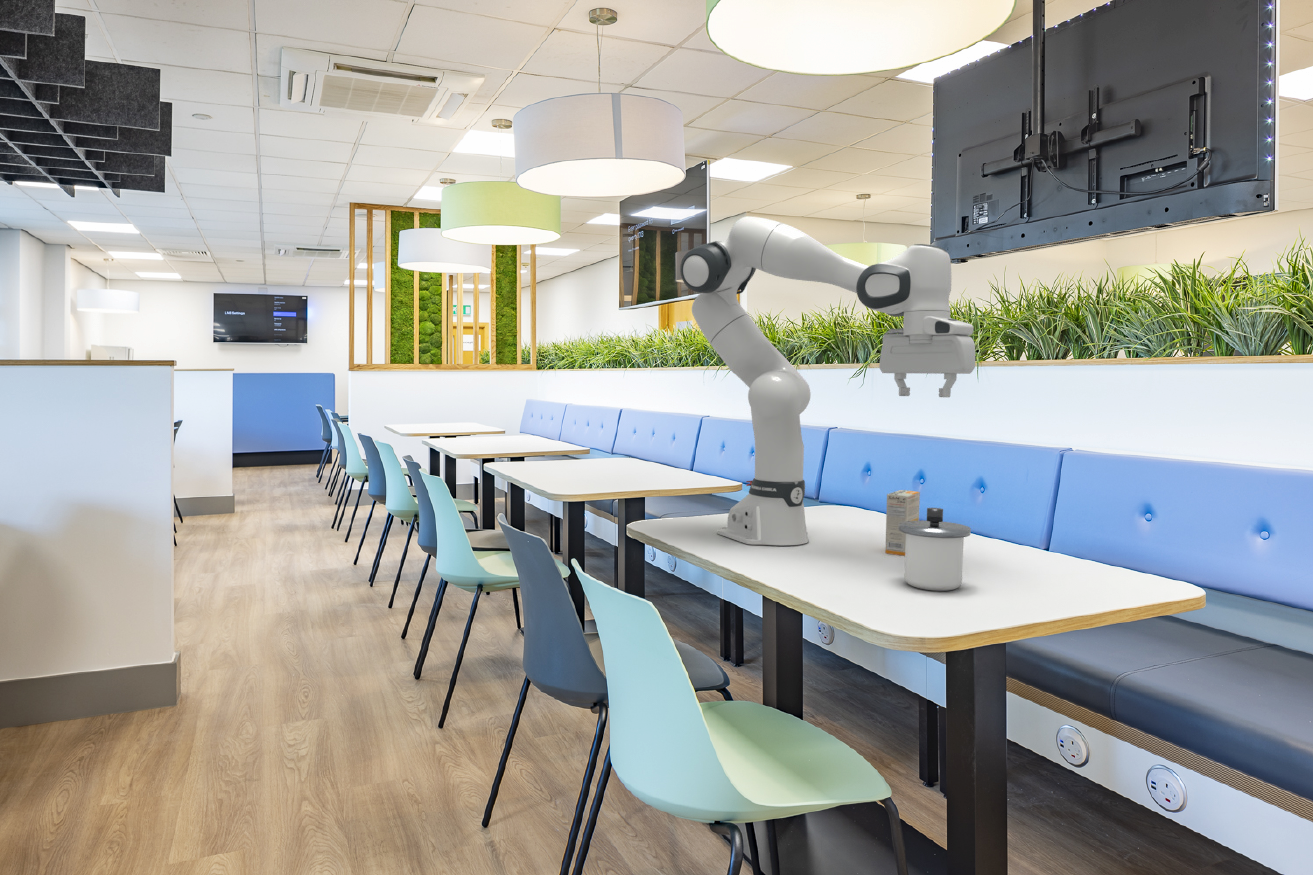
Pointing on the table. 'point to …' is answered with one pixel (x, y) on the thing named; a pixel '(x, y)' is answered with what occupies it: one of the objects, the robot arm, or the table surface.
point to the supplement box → (900, 518)
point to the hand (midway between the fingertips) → (923, 396)
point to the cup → (933, 562)
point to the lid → (934, 526)
